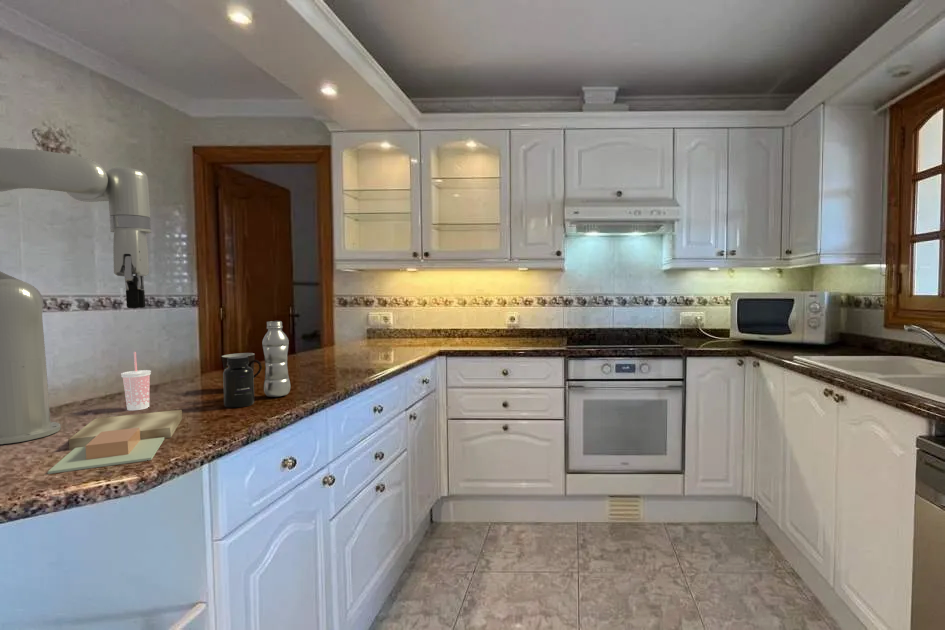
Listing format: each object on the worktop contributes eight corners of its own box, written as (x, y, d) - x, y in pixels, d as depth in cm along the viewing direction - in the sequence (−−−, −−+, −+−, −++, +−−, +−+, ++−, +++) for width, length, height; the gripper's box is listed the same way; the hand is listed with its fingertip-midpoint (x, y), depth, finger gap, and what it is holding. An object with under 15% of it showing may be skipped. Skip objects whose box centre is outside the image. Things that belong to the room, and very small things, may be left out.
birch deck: (69, 450, 91) (68, 439, 91) (95, 427, 106) (94, 418, 105) (170, 437, 97) (170, 427, 97) (182, 418, 112) (181, 409, 112)
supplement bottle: (242, 408, 120) (240, 359, 119) (218, 408, 121) (215, 359, 120) (260, 402, 126) (258, 355, 126) (236, 401, 128) (234, 355, 127)
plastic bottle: (265, 395, 135) (261, 321, 134) (291, 392, 137) (288, 320, 136) (262, 400, 129) (259, 323, 128) (290, 397, 131) (287, 321, 130)
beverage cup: (158, 404, 126) (154, 349, 125) (143, 410, 120) (140, 353, 119) (133, 405, 126) (129, 350, 125) (117, 411, 120) (113, 353, 119)
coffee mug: (219, 390, 143) (217, 355, 143) (249, 385, 149) (248, 352, 149) (233, 395, 135) (231, 359, 134) (265, 390, 141) (263, 355, 140)
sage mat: (47, 474, 79) (47, 471, 79) (75, 450, 91) (75, 447, 91) (151, 460, 84) (151, 457, 84) (164, 439, 96) (164, 437, 96)
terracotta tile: (86, 459, 84) (85, 445, 84) (102, 444, 92) (101, 431, 92) (128, 454, 86) (127, 440, 86) (140, 439, 95) (139, 427, 95)
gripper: (120, 229, 117) (125, 307, 118) (100, 221, 103) (106, 309, 104) (157, 229, 119) (162, 306, 121) (142, 221, 106) (148, 308, 107)
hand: (136, 307), depth 112 cm, fingers closed
